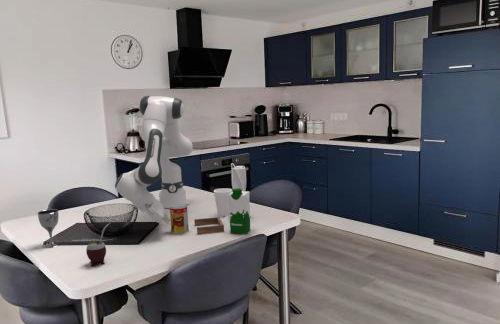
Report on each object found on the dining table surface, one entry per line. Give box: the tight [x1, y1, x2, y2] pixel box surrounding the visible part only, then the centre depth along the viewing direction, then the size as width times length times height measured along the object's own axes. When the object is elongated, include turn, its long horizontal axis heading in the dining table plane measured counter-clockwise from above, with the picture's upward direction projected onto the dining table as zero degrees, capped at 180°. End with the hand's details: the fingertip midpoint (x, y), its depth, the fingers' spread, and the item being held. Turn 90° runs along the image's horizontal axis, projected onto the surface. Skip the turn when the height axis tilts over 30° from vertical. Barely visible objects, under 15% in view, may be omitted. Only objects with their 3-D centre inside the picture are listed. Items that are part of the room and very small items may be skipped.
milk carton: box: [228, 188, 251, 235], centre depth 191 cm, size 9×9×20 cm
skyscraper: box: [230, 163, 247, 191], centre depth 211 cm, size 8×8×28 cm
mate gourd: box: [85, 222, 111, 267], centre depth 159 cm, size 8×8×15 cm
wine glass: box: [37, 208, 59, 249], centre depth 182 cm, size 8×8×15 cm
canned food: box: [169, 204, 190, 235], centre depth 194 cm, size 8×8×12 cm
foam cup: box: [213, 187, 233, 217], centre depth 219 cm, size 10×9×13 cm
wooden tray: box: [193, 216, 225, 236], centre depth 198 cm, size 14×12×3 cm
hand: (169, 221), depth 193 cm, fingers closed, pressing on canned food
